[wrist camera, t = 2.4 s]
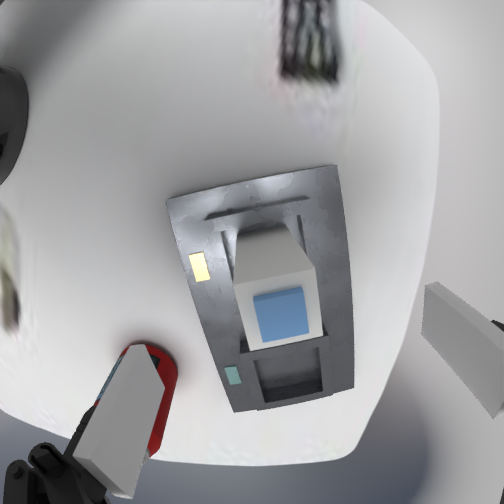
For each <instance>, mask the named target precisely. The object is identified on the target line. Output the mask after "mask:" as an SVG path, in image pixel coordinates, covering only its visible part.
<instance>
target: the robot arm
mask: <svg viewBox="0 0 504 504" xmlns="http://www.w3.org/2000/svg"><path fill="white" fill-rule="evenodd" d="M3 2H4V0H0V5H1V4H2V3H3ZM27 116H28V95H27V89H26V85H25V82H24V79H23V77H22V76H21V74H20V73H19V72H18V71H16V70H15V69H13V68H9V67H5V66H2V65H0V184H1V183H2V182H3V181H4V180H5V179H6V177H7V176H8V174H9V173H10V171H11V169H12V168H13V166H14V164H15V161H16V159H17V157H18V154H19V151H20V149H21V146H22V142H23V138H24V134H25V130H26V124H27ZM421 334H422V335H423V336H424V338H425V339H426V340H427V341H428V342H429V343H430V344H431V345H432V346H433V347H434V348H435V350H436V351H437V352H438V353H439V354H440V355H441V357H442V358H443V359H444V360H445V361H446V362H447V363H448V365H449V366H450V367H451V368H452V369H453V370H454V371H455V373H456V374H457V375H458V376H459V377H460V379H461V380H462V381H463V382H464V383H465V384H466V386H467V387H468V388H469V389H470V391H471V392H472V393H473V394H474V396H475V397H476V398H477V399H478V400H479V402H480V403H481V404H482V406H483V407H484V408H485V409H486V411H487V412H488V413H489V414H490V416H491V417H492V418H493V419H494V420H495V419H496V418H497V417H499V416H500V415H502V414H503V413H504V324H502V323H500V322H497V321H495V320H492V321H489V320H488V319H487V318H485V317H484V316H483V315H482V314H481V313H479V312H478V311H477V310H475V309H474V308H473V307H471V306H470V305H469V304H467V303H466V302H465V301H463V300H462V299H461V298H459V297H458V296H457V295H455V294H454V293H452V292H451V291H450V290H448V289H447V288H446V287H444V286H443V285H441V284H440V283H439V282H435V283H431V284H429V285H425V295H424V311H423V322H422V332H421ZM164 390H165V387H164V385H163V383H162V381H161V379H160V377H159V374H158V372H157V370H156V368H155V366H154V364H153V362H152V360H151V358H150V355H149V353H148V351H147V349H146V347H145V344H140V345H131V346H130V347H129V349H128V350H127V352H126V354H125V356H124V357H123V359H122V361H121V363H120V365H119V366H118V368H117V370H116V372H115V374H114V375H113V377H112V379H111V381H110V383H109V385H108V386H107V388H106V390H105V392H104V394H103V396H102V398H101V400H100V401H99V403H98V405H97V406H92V407H91V408H90V409H89V410H88V411H87V412H86V413H85V414H84V416H83V417H82V419H81V421H80V424H79V425H78V427H77V429H76V432H75V433H74V434H73V436H72V438H71V440H70V442H69V444H68V446H67V448H66V450H65V452H64V454H63V455H62V454H61V453H60V452H59V451H58V450H57V449H56V447H55V446H54V445H52V444H51V443H46V442H44V443H40V444H38V445H36V446H35V447H34V448H33V449H32V450H31V452H30V454H29V456H28V462H29V463H30V464H31V465H32V466H33V467H34V468H31V467H30V466H29V465H28V464H27V463H26V462H25V461H23V460H16V461H14V462H12V463H11V464H10V465H9V466H8V468H7V471H6V476H5V485H4V496H3V504H111V502H110V500H109V499H108V498H107V496H105V493H106V491H107V489H108V490H109V491H110V492H111V493H112V494H113V495H115V496H117V497H123V498H128V499H133V495H134V492H135V488H136V484H137V481H138V477H139V474H140V470H141V466H142V463H143V459H144V456H145V452H146V449H147V445H148V442H149V439H150V435H151V432H152V429H153V425H154V422H155V419H156V415H157V412H158V409H159V406H160V403H161V399H162V396H163V393H164ZM500 504H504V489H503V493H502V497H501V501H500Z"/></svg>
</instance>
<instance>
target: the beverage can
mask: <svg viewBox="0 0 504 504" xmlns="http://www.w3.org/2000/svg"><path fill="white" fill-rule="evenodd" d="M137 345H140V344H137ZM129 347H130V346H129ZM129 347H127V348H126V349H125V350H124V351H123V352H122V353H121V355H120V357H119V358H118V360H117V362H116V364H115V365H114V367H113V369H112V371H111V373H110V374H109V376H108V378H107V380H106V382H105V384H104V386H103V387H102V389H101V391H100V393H99V395H98V397H97V399H96V401H95V403H94V405H93V406H97V405H98V403H99V401H100V400H101V398H102V396H103V394H104V392H105V390H106V388H107V386H108V385H109V383H110V381H111V379H112V377H113V375H114V374H115V372H116V370H117V368H118V366H119V365H120V363H121V361H122V359H123V357H124V356H125V354H126V352H127V350H128V349H129ZM145 347H146V349H147V351H148V353H149V355H150V358H151V360H152V362H153V364H154V366H155V368H156V370H157V372H158V374H159V377H160V379H161V381H162V383H163V385H164V387H165V390H164V393H163V396H162V399H161V403H160V406H159V409H158V412H157V415H156V419H155V422H154V425H153V429H152V432H151V435H150V439H149V442H148V445H147V449H146V452H145V456H144V459H143V463H142V464H144V463H146V462H147V461H148V460H149V458H150V457H151V456H152V455H153V454H155V453H156V452H157V451H158V450H159V448H160V446H161V442H162V438H163V434H164V430H165V426H166V422H167V418H168V414H169V410H170V406H171V402H172V398H173V394H174V390H175V385H176V381H177V377H178V373H177V368H176V366H175V364H174V362H173V361H172V360H171V358H170V357H169V356H168V355H166V354H165V353H164V352H162V351H161V350H159V349H157V348H155V347H152V346H149V345H145Z"/></svg>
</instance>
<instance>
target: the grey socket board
mask: <svg viewBox="0 0 504 504" xmlns="http://www.w3.org/2000/svg"><path fill="white" fill-rule="evenodd" d="M166 205H167V209H168V213H169V217H170V221H171V224H172V228H173V232H174V236H175V239H176V243H177V246H178V250H179V254H180V257H181V260H182V264H183V267H184V271H185V274H186V277H187V281H188V284H189V287H190V290H191V294H192V297H193V300H194V303H195V306H196V309H197V313H198V316H199V319H200V322H201V325H202V328H203V331H204V334H205V336H206V339H207V342H208V345H209V348H210V351H211V354H212V356H213V359H214V362H215V365H216V367H217V370H218V373H219V376H220V378H221V381H222V384H223V386H224V389H225V391H226V394H227V397H228V399H229V402H230V404H231V407H232V409H233V412H234V413H235V412H243V411H250V410H256V409H257V411H259V410H265V409H271V408H276V407H282V406H287V405H292V404H297V403H302V402H306V401H311V400H315V399H319V398H323V397H327V396H331V395H333V393H337V392H341V391H345V390H348V389H352V388H354V325H353V304H352V288H351V275H350V263H349V252H348V243H347V234H346V225H345V217H344V210H343V202H342V195H341V189H340V182H339V176H338V170H337V165H329V166H322V167H316V168H310V169H304V170H298V171H293V172H287V173H282V174H276V175H271V176H266V177H261V178H256V179H251V180H246V181H242V182H237V183H232V184H228V185H223V186H219V187H214V188H210V189H206V190H202V191H197V192H193V193H189V194H185V195H181V196H177V197H173V198H170V199H168V200H166ZM281 225H286V226H287V227H288V229H289V230H290V232H291V233H292V235H293V236H294V237H295V239H296V240H297V242H298V243H299V245H300V246H301V248H302V249H303V251H304V252H305V254H306V255H307V257H308V258H309V260H310V261H311V263H312V264H313V266H314V267H315V271H316V279H317V287H318V295H319V303H320V312H321V321H322V330H323V336H320V337H315V338H311V339H307V340H302V341H298V342H293V343H289V344H284V345H279V346H274V347H269V348H264V349H258V350H253V351H250V348H249V344H248V341H247V337H246V333H245V329H244V326H243V322H242V318H241V314H240V310H239V306H238V303H237V299H236V295H235V291H234V287H233V279H234V265H235V252H236V239H237V235H238V234H243V233H247V232H252V231H257V230H262V229H267V228H272V227H277V226H281Z"/></svg>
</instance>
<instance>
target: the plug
mask: <svg viewBox="0 0 504 504" xmlns="http://www.w3.org/2000/svg"><path fill="white" fill-rule="evenodd" d="M233 287H234V291H235V295H236V299H237V303H238V306H239V310H240V314H241V318H242V322H243V326H244V329H245V333H246V337H247V341H248V344H249V348H250V351H253V350H258V349H264V348H269V347H274V346H279V345H284V344H289V343H293V342H298V341H302V340H307V339H311V338H315V337H320V336H323V330H322V321H321V312H320V303H319V295H318V287H317V279H316V271H315V267H314V266H313V264H312V263H311V261H310V260H309V258H308V257H307V255H306V254H305V252H304V251H303V249H302V248H301V246H300V245H299V243H298V242H297V240H296V239H295V237H294V236H293V235H292V233H291V232H290V230H289V229H288V227H287V226H286V225H281V226H277V227H272V228H267V229H262V230H257V231H252V232H247V233H243V234H238V235H237V239H236V252H235V265H234V279H233Z"/></svg>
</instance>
